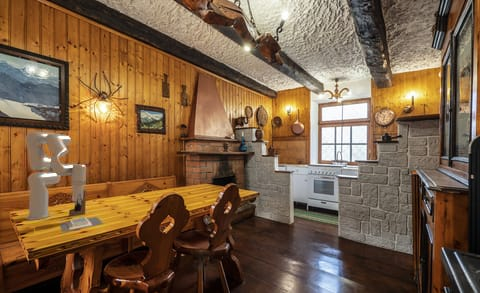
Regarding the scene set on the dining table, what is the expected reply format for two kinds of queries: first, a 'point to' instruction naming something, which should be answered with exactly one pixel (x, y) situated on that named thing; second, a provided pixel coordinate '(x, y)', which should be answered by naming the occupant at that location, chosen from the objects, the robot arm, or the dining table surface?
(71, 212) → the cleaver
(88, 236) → the dining table surface
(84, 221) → the deck
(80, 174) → the robot arm
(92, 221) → the mat
